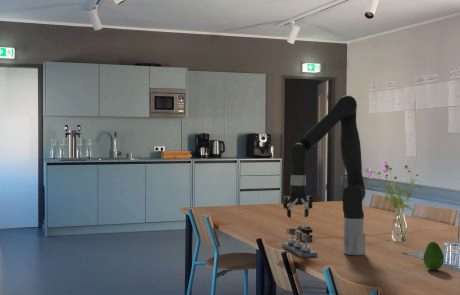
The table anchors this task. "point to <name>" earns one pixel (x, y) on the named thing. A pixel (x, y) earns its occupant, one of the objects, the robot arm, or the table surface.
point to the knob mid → (299, 236)
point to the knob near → (306, 239)
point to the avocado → (433, 256)
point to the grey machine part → (306, 231)
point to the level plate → (299, 250)
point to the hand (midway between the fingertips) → (297, 217)
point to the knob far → (292, 232)
